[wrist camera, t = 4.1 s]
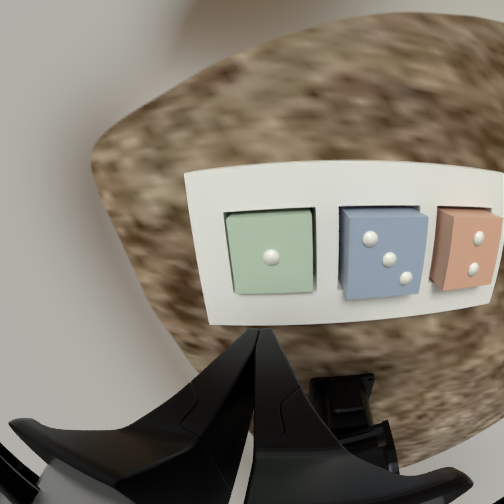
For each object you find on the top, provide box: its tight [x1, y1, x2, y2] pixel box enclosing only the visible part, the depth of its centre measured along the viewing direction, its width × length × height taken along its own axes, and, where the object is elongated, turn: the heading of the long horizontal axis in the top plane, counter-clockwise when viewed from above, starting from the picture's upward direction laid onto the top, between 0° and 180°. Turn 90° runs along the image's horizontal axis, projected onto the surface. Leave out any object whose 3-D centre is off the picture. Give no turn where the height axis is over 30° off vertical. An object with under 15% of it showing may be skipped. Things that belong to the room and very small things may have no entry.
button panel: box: [184, 160, 504, 325], centre depth 17 cm, size 11×24×2 cm, turn 95°
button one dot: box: [226, 207, 313, 294], centre depth 18 cm, size 5×5×3 cm
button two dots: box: [429, 207, 503, 291], centre depth 15 cm, size 5×5×3 cm
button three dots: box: [339, 206, 429, 299], centre depth 16 cm, size 5×5×3 cm
